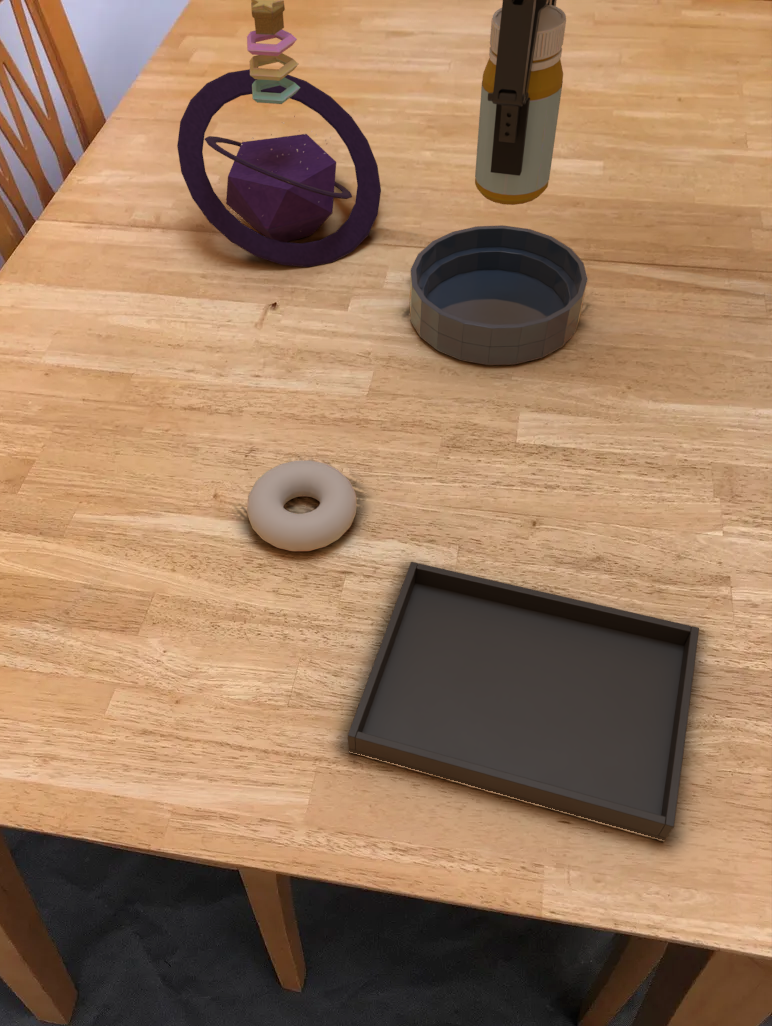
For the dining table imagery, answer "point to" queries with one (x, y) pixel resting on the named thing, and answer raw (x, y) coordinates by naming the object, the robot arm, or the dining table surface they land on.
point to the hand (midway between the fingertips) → (515, 150)
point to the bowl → (496, 294)
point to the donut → (306, 527)
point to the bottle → (540, 115)
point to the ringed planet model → (278, 160)
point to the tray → (532, 698)
